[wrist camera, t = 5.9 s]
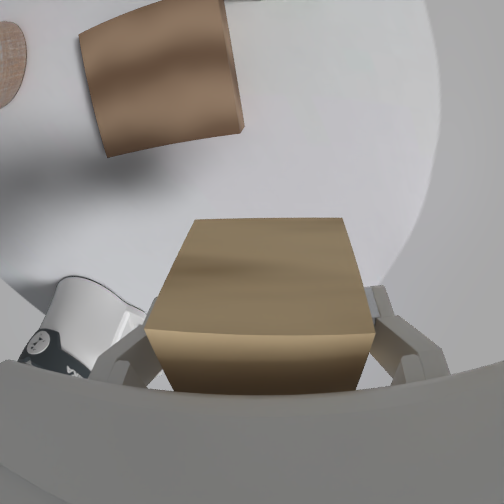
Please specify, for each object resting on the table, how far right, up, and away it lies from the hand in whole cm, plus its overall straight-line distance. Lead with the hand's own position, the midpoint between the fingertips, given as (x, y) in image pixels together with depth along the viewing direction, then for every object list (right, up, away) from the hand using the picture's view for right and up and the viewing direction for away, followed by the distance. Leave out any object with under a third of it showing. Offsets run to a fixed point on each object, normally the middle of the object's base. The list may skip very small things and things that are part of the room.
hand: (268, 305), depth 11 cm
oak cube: (0, +1, +1) cm, 2 cm away
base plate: (-8, +17, +10) cm, 21 cm away
